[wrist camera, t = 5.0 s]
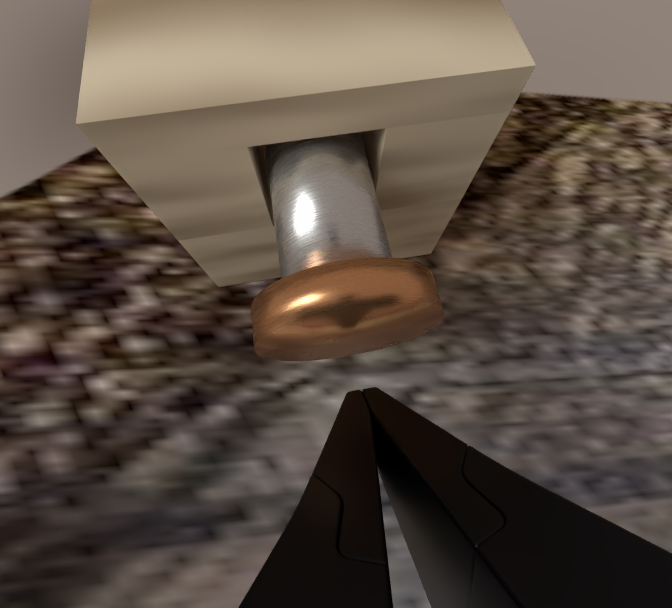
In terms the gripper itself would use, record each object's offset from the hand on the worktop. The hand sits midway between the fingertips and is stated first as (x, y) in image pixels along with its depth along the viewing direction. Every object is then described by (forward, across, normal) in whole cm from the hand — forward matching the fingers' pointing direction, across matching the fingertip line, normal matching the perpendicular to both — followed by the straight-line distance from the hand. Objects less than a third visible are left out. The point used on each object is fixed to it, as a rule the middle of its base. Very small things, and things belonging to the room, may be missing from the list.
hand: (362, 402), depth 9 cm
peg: (+7, 0, +2) cm, 7 cm away
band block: (+13, 0, +3) cm, 14 cm away
